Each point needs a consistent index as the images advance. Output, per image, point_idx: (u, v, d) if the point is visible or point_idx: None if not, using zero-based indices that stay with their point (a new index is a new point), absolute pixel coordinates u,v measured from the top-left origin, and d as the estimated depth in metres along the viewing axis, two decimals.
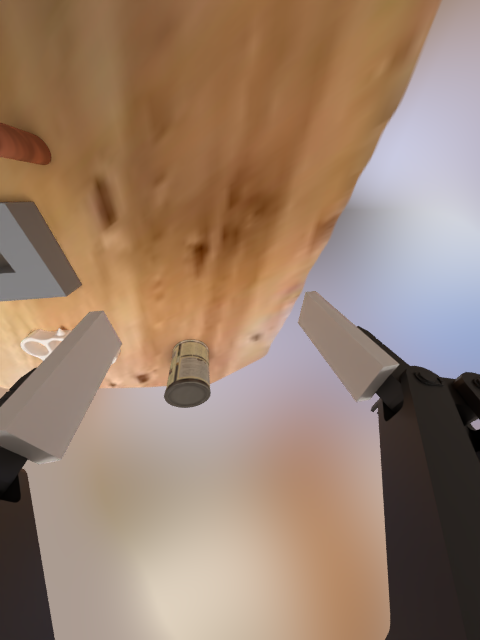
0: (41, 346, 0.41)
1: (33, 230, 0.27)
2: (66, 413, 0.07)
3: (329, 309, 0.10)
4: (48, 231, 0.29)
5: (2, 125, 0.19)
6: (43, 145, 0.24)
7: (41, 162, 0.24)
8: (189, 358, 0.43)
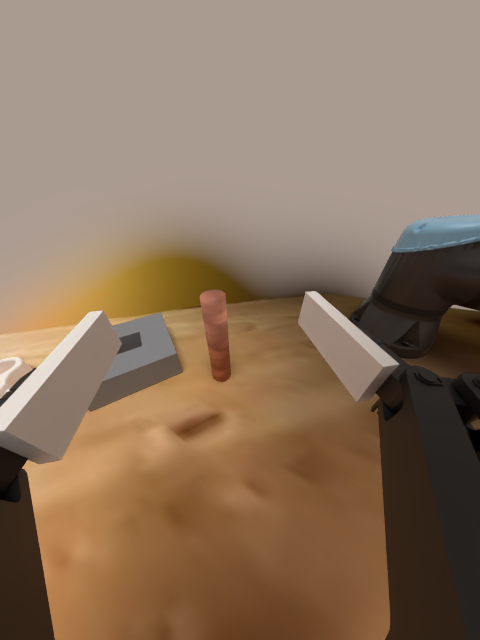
0: None
1: (157, 368, 0.28)
2: (66, 413, 0.07)
3: (329, 309, 0.10)
4: (158, 380, 0.30)
5: (228, 354, 0.28)
6: (227, 377, 0.30)
7: (214, 375, 0.30)
8: None
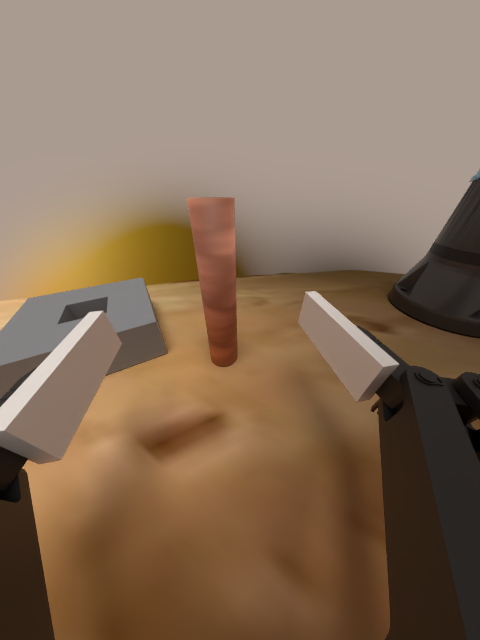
0: None
1: (125, 344, 0.18)
2: (66, 413, 0.07)
3: (329, 309, 0.10)
4: (128, 363, 0.20)
5: (235, 323, 0.18)
6: (232, 359, 0.20)
7: (214, 357, 0.20)
8: None
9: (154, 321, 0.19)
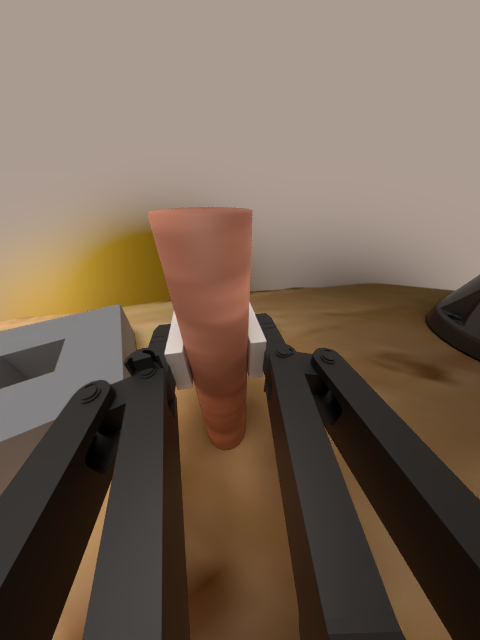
0: None
1: None
2: None
3: None
4: None
5: (245, 398, 0.11)
6: (238, 440, 0.14)
7: (212, 438, 0.13)
8: None
9: None
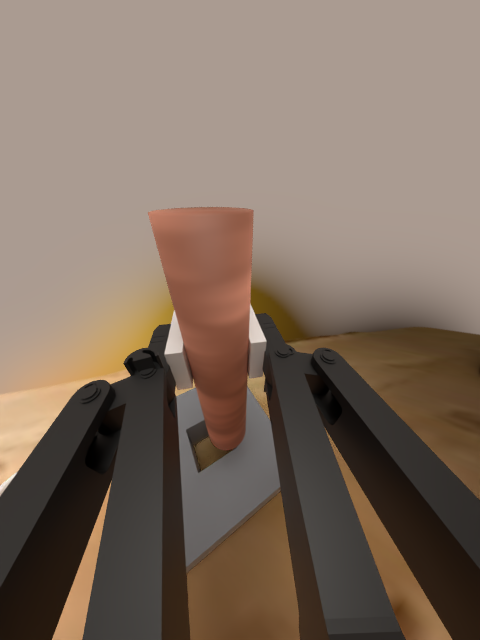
0: None
1: (271, 495, 0.17)
2: None
3: None
4: (264, 504, 0.18)
5: (246, 399, 0.11)
6: (239, 441, 0.14)
7: (212, 439, 0.13)
8: None
9: None
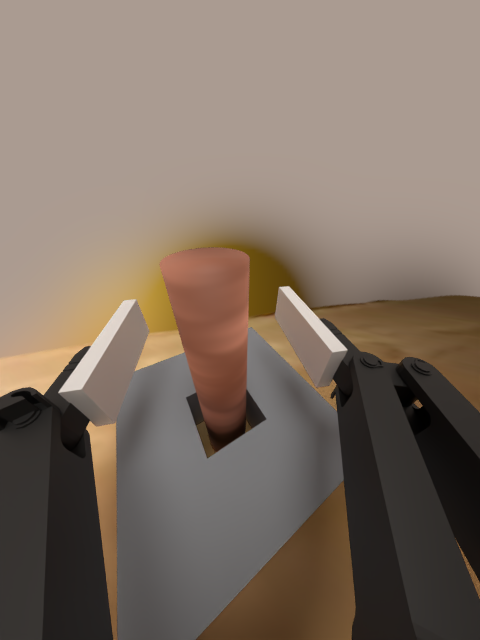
0: None
1: None
2: (116, 384, 0.08)
3: (297, 302, 0.11)
4: None
5: (245, 410, 0.12)
6: None
7: (214, 446, 0.14)
8: None
9: None
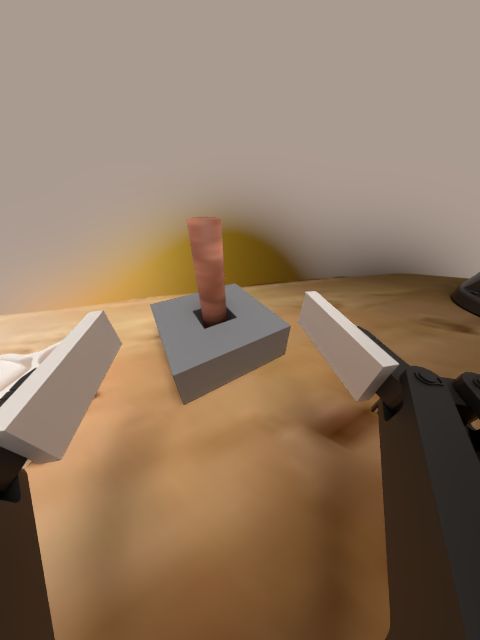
0: None
1: (266, 346, 0.21)
2: (66, 413, 0.07)
3: (329, 309, 0.10)
4: (260, 363, 0.22)
5: (225, 313, 0.22)
6: None
7: None
8: None
9: (289, 325, 0.21)
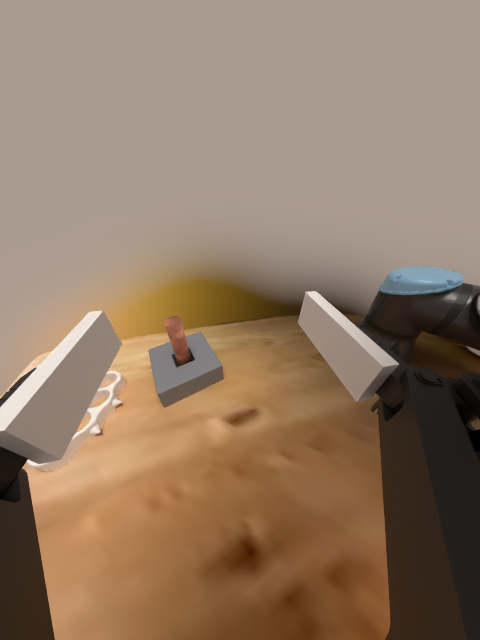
0: (105, 382, 0.41)
1: (208, 376, 0.39)
2: (66, 413, 0.07)
3: (329, 309, 0.10)
4: (207, 385, 0.41)
5: (189, 357, 0.41)
6: None
7: None
8: None
9: (221, 365, 0.40)
